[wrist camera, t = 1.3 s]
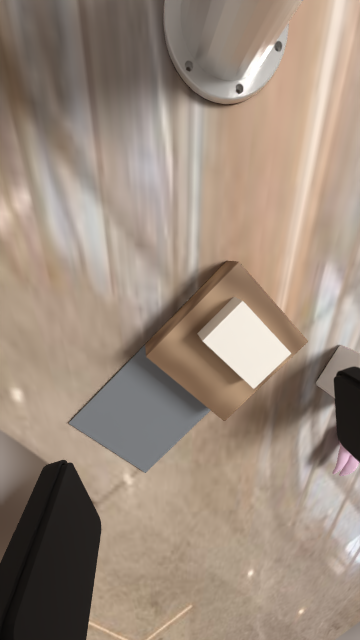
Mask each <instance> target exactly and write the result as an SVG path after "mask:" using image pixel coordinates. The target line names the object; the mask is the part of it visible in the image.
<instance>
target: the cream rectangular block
mask: <svg viewBox="0 0 360 640" xmlns="http://www.w3.org/2000/svg"><path fill="white" fill-rule="evenodd" d="M197 334H198V335H199V337H200V338H201V340H202V341H203V342H204V343H205V344H206V345H207V346H208V347H209V348H211V349H212V350H213V351H214V352H215V353H216V354H217V355H218V356H219V357H220V358H221V359H222V360H223V361H224V362H225V363H227V364H228V365H229V366H230V367H231V368H232V369H233V370H234V371H235V372H236V373H237V374H238V375H239V376H240V377H241V378H243V379H244V380H245V381H246V382H247V383H248V384H249V385H250V386H251V387H252V388H253V389H254V388H256V387H257V386H258V385H259V384H260V383H261V382H262V381H263V380H264V379H265V378H266V377H267V376H268V375H269V374H270V373H271V372H272V371H273V370H274V369H275V368H276V367H278V366H279V365H280V364H281V363H282V362H283V361H284V360H285V359H286V358H287V357H288V356H289V355H290V354H291V352H290V351H289V350H288V349H287V348H286V347H285V346H284V345H283V344H282V343H281V342H280V341H279V339H278V338H277V337H276V336H275V335H274V334H273V333H272V332H271V331H270V330H269V329H268V328H267V326H266V325H265V324H264V323H263V322H262V321H261V320H260V319H259V318H258V317H257V316H256V315H255V313H254V312H253V311H252V310H251V309H250V308H249V307H248V306H247V305H246V304H245V303H244V302H243V301H242V300H240V299H238V298H236V297H233V298H232V299H231V300H230V301H229V302H228V303H227V304H226V305H225V306H224V307H223V308H222V309H221V310H220V311H219V312H218V313H217V314H216V315H215V316H214V317H213V318H212V319H211V320H210V321H209V322H208V323H207V324H206V325H205V326H204V327H203V328H202V329H201V330H200V331H199V332H198V333H197Z"/></svg>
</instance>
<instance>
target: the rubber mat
mask: <svg viewBox="0 0 360 640" xmlns="http://www.w3.org/2000/svg"><path fill="white" fill-rule="evenodd" d="M209 411H210V409H209V408H208V407H206V406H205V405H204V404H203V403H202V402H200V401H199V400H198V399H197V398H195V397H194V396H193V395H192V394H191V393H189V392H188V391H187V390H186V389H185V388H183V387H182V386H181V385H180V384H179V383H177V382H176V381H175V380H174V379H173V378H171V377H170V376H169V375H168V374H167V373H165V372H164V371H163V370H162V369H161V368H159V367H158V366H157V365H156V364H154V363H153V362H152V361H151V360H150V359H148V358H147V357H146V348H145V345H144V346H143V347H142V348H141V349H140V350H139V351H138V352H137V353H136V354H135V355H134V356H133V357H132V358H131V359H130V360H129V361H128V362H127V363H126V364H125V365H124V366H123V368H122V369H121V370H120V371H119V372H118V373H117V374H116V375H115V376H114V377H113V378H112V379H111V380H110V381H109V382H108V383H107V384H106V385H105V386H104V387H103V388H102V389H101V390H100V391H99V392H98V393H97V394H96V395H95V396H94V397H93V398H92V399H91V400H90V401H89V402H88V403H87V404H86V405H85V406H84V407H83V408H82V409H81V410H80V411H79V412H78V413H77V415H76V416H75V417H74V418H73V419H72V420H71V421H70V422H69V424H70V425H72V426H73V427H75V428H77V429H78V430H80V431H81V432H83V433H84V434H86V435H87V436H89V437H91V438H92V439H94V440H95V441H97V442H98V443H100V444H101V445H103V446H104V447H106V448H108V449H109V450H111V451H112V452H114V453H115V454H117V455H118V456H120V457H122V458H123V459H125V460H126V461H128V462H129V463H131V464H132V465H134V466H136V467H137V468H139V469H140V470H142V471H143V472H145V473H146V472H147V471H148V470H149V469H150V468H151V467H152V466H153V465H154V464H155V463H156V462H157V461H158V460H159V459H160V458H161V457H162V456H163V455H165V454H166V453H167V452H168V451H169V450H170V449H171V448H172V447H173V446H174V445H175V444H176V443H177V442H178V441H179V440H180V439H181V438H182V437H183V436H184V435H185V434H186V433H187V432H188V431H189V430H191V429H192V428H193V427H194V426H195V425H196V424H197V423H198V422H199V421H200V420H201V419H202V418H203V417H204V416H205V415H206V414H207V413H208V412H209Z"/></svg>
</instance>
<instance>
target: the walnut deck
mask: <svg viewBox="0 0 360 640" xmlns="http://www.w3.org/2000/svg"><path fill="white" fill-rule="evenodd" d="M233 297H236V298H238V299H240V300H242V301H243V302H244V303H245V304H246V305H247V306H248V307H249V308H250V309H251V310H252V311H253V312H254V313H255V315H256V316H257V317H258V318H259V319H260V320H261V321H262V322H263V323H264V324H265V325H266V326H267V328H268V329H269V330H270V331H271V332H272V333H273V334H274V335H275V336H276V337H277V338H278V339H279V341H280V342H281V343H282V344H283V345H284V346H285V347H286V348H287V349H288V350H289V351H290V352H291V354H290V355H289V356H288V357H287V358H286V359H285V360H284V361H283V362H282V363H281V364H280V365H279V366H278V367H276V368H275V369H274V370H273V371H272V372H271V373H270V374H269V375H268V376H267V377H266V378H265V379H264V380H263V381H262V382H261V383H260V384H259V385H258V386H257V387H256V388H254V389H253V388H252V387H251V386H250V385H249V384H248V383H247V382H246V381H245V380H244V379H243V378H241V377H240V376H239V375H238V374H237V373H236V372H235V371H234V370H233V369H232V368H231V367H230V366H229V365H228V364H227V363H225V362H224V361H223V360H222V359H221V358H220V357H219V356H218V355H217V354H216V353H215V352H214V351H213V350H212V349H211V348H209V347H208V346H207V345H206V344H205V343H204V342H203V341H202V340H201V338H200V337H199V335H198V334H197V333H198V332H199V331H200V330H201V329H202V328H203V327H204V326H205V325H206V324H207V323H208V322H209V321H210V320H211V319H212V318H213V317H214V316H215V315H216V314H217V313H218V312H219V311H220V310H221V309H222V308H223V307H224V306H225V305H226V304H227V303H228V302H229V301H230V300H231V299H232V298H233ZM307 342H308V340H307V339H306V338H305V337H304V336H303V335H302V333H301V332H300V331H299V330H298V329H297V328H296V327H295V325H294V324H293V323H292V322H291V321H290V320H289V319H288V317H287V316H286V315H285V314H284V313H283V312H282V310H281V309H280V308H279V307H278V306H277V305H276V304H275V302H274V301H273V300H272V299H271V298H270V297H269V296H268V294H267V293H266V292H265V291H264V290H263V289H262V287H261V286H260V285H259V284H258V283H257V282H256V281H255V279H254V278H253V277H252V276H251V275H250V274H249V273H248V271H247V270H246V269H245V268H244V267H243V266H242V265H241V263H240V262H236V261H226V262H225V263H224V264H223V265H222V266H221V267H220V268H219V269H218V270H217V271H216V273H215V274H214V275H213V276H212V277H211V278H210V279H209V280H208V281H207V282H206V283H205V284H204V285H203V286H202V287H201V288H200V289H199V290H198V291H197V292H196V293H195V294H194V295H193V296H192V297H191V298H190V299H189V300H188V301H187V302H186V303H185V304H184V305H183V306H182V307H181V308H180V309H179V310H178V311H177V312H176V313H175V314H174V315H173V316H172V317H171V318H170V320H169V321H168V322H167V323H166V324H165V325H164V326H163V327H162V328H161V329H160V330H159V331H158V332H157V333H156V334H155V335H154V336H153V337H152V338H151V339H150V340H149V341H148V342H147V343H146V344H145V348H146V357H147V358H148V359H150V360H151V361H152V362H153V363H154V364H156V365H157V366H158V367H159V368H161V369H162V370H163V371H164V372H165V373H167V374H168V375H169V376H170V377H171V378H173V379H174V380H175V381H176V382H177V383H179V384H180V385H181V386H182V387H183V388H185V389H186V390H187V391H188V392H189V393H191V394H192V395H193V396H194V397H195V398H197V399H198V400H199V401H200V402H202V403H203V404H204V405H205V406H206V407H208V408H209V409H210V410H211V411H212V412H214V413H215V414H216V415H217V416H218V417H220V418H221V419H222V420H223V421H225V420H226V419H227V418H228V417H229V416H230V415H231V414H233V413H234V412H235V411H236V410H237V409H238V408H239V407H240V406H241V405H242V404H243V403H244V402H245V401H246V400H247V399H248V398H249V397H250V396H251V395H252V394H254V393H255V392H256V391H257V390H258V389H259V388H260V387H261V386H262V385H263V384H264V383H265V382H266V381H267V380H268V379H269V378H270V377H271V376H272V375H274V374H275V373H276V372H277V371H278V370H279V369H280V368H281V367H282V366H283V365H284V364H285V363H286V362H287V361H288V360H289V359H290V358H291V357H292V356H293V355H295V354H296V353H297V352H298V351H299V350H300V349H301V348H302V347H303V346H304V345H305V344H306V343H307Z"/></svg>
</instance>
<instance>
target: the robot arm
mask: <svg viewBox="0 0 360 640" xmlns="http://www.w3.org/2000/svg"><path fill="white" fill-rule="evenodd" d="M302 1H303V0H165V1H164V15H163V27H164V34H165V41H166V45H167V48H168V51H169V55H170V58H171V60H172V62H173V64H174V66H175V68H176V70H177V72H178V73H179V75H180V76H181V78H182V79H183V80H184V82H185V83H186V84H187V85H188V86H189V87H190V88H191V89H192V90H193V91H194V92H196V93H197V94H199V95H200V96H201V97H203V98H205V99H207V100H210V101H212V102H216V103H221V104H235V103H238V102H242V101H245V100H247V99H249V98H250V97H252V96H254V95H255V94H257V93H258V92H259V91H260V90H261V89H262V88H263V87H264V86H265V85H266V84H267V82H268V81H269V80H270V79H271V77H272V76H273V74H274V72H275V71H276V69H277V68H278V66H279V64H280V61H281V59H282V56H283V54H284V50H285V46H286V42H287V36H288V27H289V21H290V20H291V18H292V17H293V15H294V13H295V12H296V10H297V9H298V7H299V6H300V4H301V3H302ZM187 70H189V71H187ZM334 393H335V408H336V422H337V436H338V439H339V441H340V443H341V445H342V446H343V447H344V448H345V449H346V450H347V451H348V452H349V453H350V454H351V455H352V456H353V457H354V458H355V459H356V460H357V461H358V462H359V463H360V368H359V367H356V366H353V367H350V368H346V369H343V370H340V371H338V372H337V374H336V377H334ZM100 536H101V521H100V517H99V515H98V513H97V511H96V509H95V507H94V505H93V503H92V501H91V499H90V497H89V495H88V493H87V491H86V489H85V487H84V485H83V483H82V481H81V479H80V477H79V475H78V473H77V471H76V469H75V467H74V465H73V464H72V463H67V461H66V460H61V461H58V462H54V463H51V464H48V465H46V466H45V467H44V468H43V470H42V471H41V474H40V476H39V478H38V481H37V483H36V485H35V487H34V489H33V492H32V494H31V496H30V498H29V501H28V503H27V505H26V507H25V510H24V512H23V514H22V517H21V519H20V521H19V523H18V525H17V528H16V530H15V532H14V534H13V536H12V538H11V541H10V543H9V545H8V547H7V549H6V552H5V554H4V556H3V559H2V561H1V563H0V640H86V636H87V629H88V622H89V615H90V608H91V600H92V593H93V586H94V579H95V572H96V565H97V557H98V550H99V543H100Z"/></svg>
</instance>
